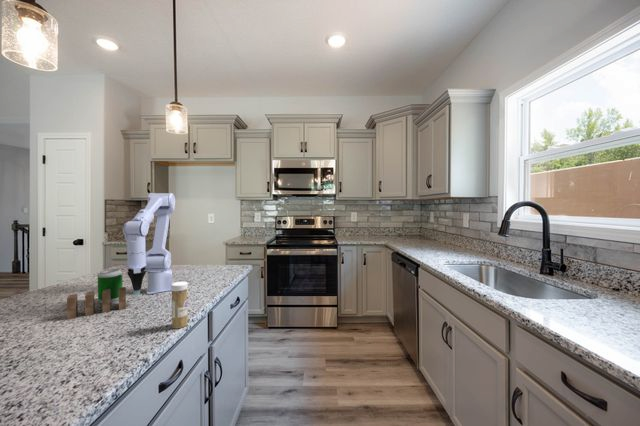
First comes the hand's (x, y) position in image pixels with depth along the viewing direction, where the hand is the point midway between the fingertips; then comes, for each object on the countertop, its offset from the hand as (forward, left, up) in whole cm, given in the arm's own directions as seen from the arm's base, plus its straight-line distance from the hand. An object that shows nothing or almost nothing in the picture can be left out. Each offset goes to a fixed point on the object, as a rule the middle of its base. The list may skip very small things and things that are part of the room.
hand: (137, 288), depth 98 cm
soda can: (+8, -11, -6) cm, 15 cm away
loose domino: (0, 0, -2) cm, 2 cm away
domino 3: (+9, 0, -6) cm, 11 cm away
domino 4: (+4, 0, -6) cm, 8 cm away
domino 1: (+18, 0, -6) cm, 19 cm away
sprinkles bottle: (-11, +29, -6) cm, 32 cm away
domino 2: (+13, 0, -6) cm, 15 cm away
